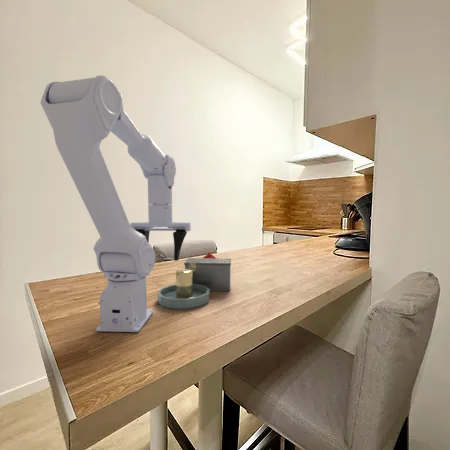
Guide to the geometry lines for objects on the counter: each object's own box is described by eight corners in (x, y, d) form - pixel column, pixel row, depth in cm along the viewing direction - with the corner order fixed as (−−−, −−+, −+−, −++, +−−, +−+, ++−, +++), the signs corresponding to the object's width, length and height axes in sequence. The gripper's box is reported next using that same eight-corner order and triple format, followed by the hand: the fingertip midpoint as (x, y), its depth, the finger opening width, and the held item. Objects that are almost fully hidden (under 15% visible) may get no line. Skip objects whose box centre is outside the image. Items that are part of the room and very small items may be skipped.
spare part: (194, 293, 69) (194, 269, 68) (190, 298, 65) (190, 273, 64) (178, 292, 69) (178, 269, 69) (174, 297, 65) (173, 273, 65)
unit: (230, 291, 73) (230, 263, 73) (184, 290, 74) (184, 262, 73) (231, 284, 80) (231, 258, 79) (188, 283, 80) (188, 258, 80)
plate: (206, 309, 61) (206, 300, 60) (151, 309, 61) (151, 299, 61) (211, 292, 73) (211, 283, 73) (165, 291, 73) (165, 283, 73)
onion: (198, 274, 90) (198, 250, 90) (215, 273, 92) (214, 249, 92) (203, 279, 85) (203, 253, 84) (220, 277, 87) (220, 252, 86)
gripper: (192, 204, 71) (192, 256, 72) (137, 204, 72) (138, 256, 73) (187, 205, 64) (188, 262, 65) (126, 205, 65) (127, 262, 66)
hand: (161, 259), depth 68 cm, fingers open, 7 cm apart
